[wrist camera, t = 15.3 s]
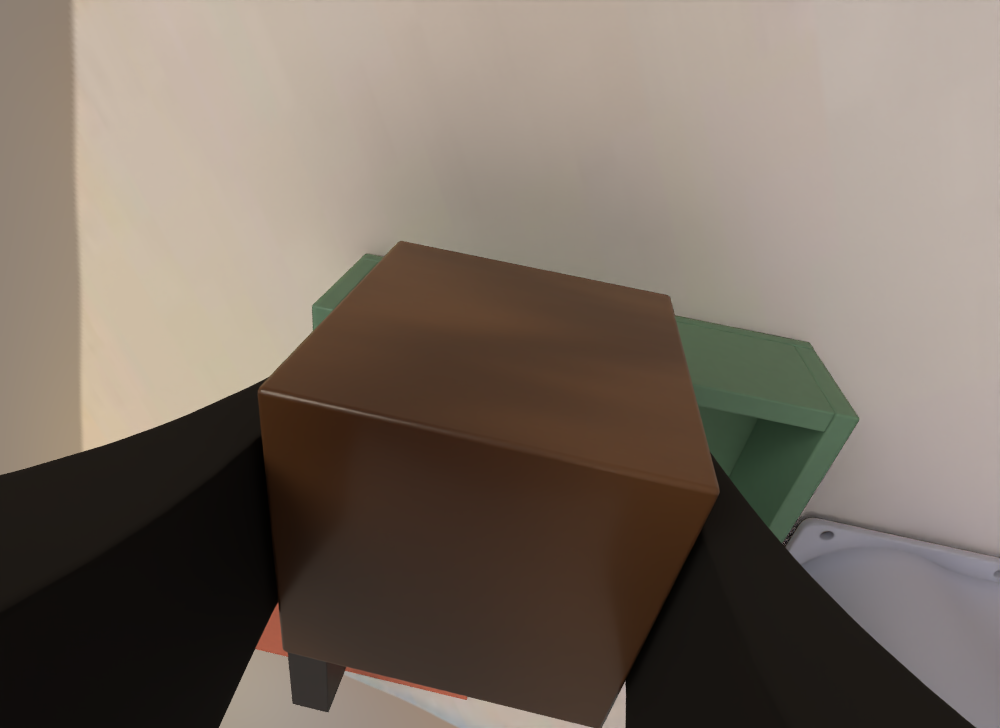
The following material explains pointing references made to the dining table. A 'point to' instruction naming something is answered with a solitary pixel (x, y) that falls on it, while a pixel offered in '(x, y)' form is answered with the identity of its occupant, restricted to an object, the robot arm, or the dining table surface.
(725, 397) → the box
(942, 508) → the dining table surface
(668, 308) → the walnut block
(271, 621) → the lunchbox lid
